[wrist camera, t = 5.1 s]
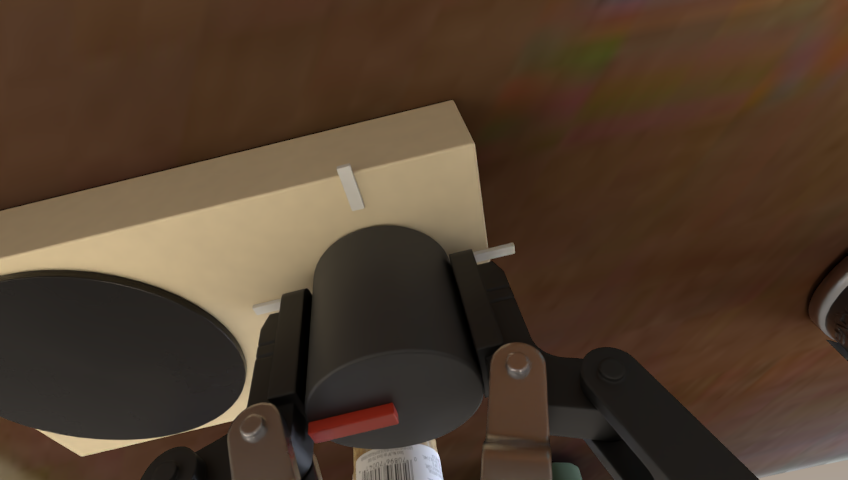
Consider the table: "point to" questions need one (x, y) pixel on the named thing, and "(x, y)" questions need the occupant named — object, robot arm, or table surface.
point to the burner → (111, 357)
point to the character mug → (565, 471)
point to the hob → (259, 221)
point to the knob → (388, 343)
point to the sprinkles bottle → (398, 463)
